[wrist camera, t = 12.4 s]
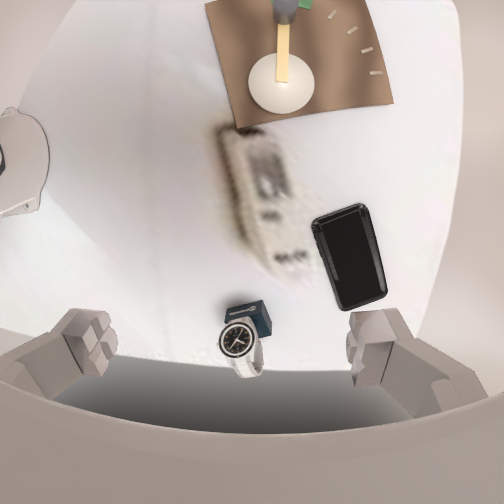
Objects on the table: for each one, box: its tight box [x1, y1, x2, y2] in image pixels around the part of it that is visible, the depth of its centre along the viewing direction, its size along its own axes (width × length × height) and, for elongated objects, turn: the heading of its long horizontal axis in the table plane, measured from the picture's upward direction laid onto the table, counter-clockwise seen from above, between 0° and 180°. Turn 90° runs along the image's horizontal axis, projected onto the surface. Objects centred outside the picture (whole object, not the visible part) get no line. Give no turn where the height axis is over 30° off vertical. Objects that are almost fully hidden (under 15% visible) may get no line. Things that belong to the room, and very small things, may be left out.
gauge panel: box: [205, 0, 394, 129], centre depth 28 cm, size 19×17×2 cm
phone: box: [312, 203, 388, 311], centre depth 40 cm, size 8×1×15 cm
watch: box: [217, 300, 272, 378], centre depth 39 cm, size 6×8×11 cm
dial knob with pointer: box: [248, 0, 314, 114], centre depth 24 cm, size 14×7×8 cm, turn 178°
